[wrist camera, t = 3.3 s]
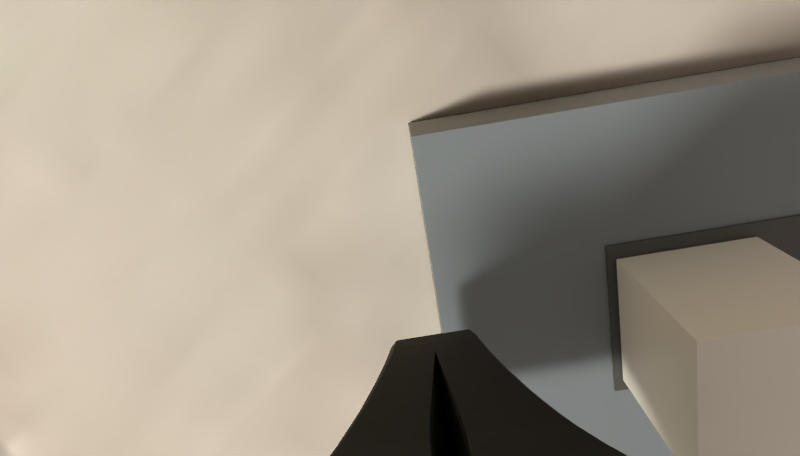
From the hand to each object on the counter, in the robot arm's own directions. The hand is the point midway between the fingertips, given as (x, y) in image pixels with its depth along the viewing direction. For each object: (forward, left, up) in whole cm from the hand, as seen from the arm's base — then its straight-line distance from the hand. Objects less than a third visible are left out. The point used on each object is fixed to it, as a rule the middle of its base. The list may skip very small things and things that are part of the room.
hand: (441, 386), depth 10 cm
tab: (0, -5, -1) cm, 5 cm away
